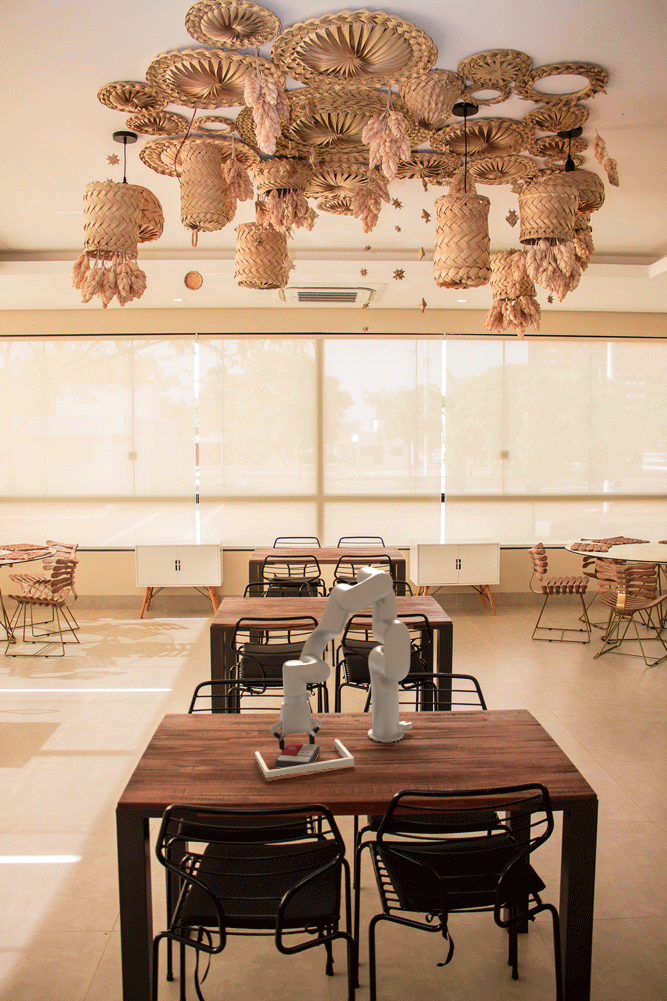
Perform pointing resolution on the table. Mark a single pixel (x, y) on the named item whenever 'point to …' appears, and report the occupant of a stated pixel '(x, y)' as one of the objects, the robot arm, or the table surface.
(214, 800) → the table surface
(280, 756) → the calculator
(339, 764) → the slot
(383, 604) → the robot arm
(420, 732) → the table surface
